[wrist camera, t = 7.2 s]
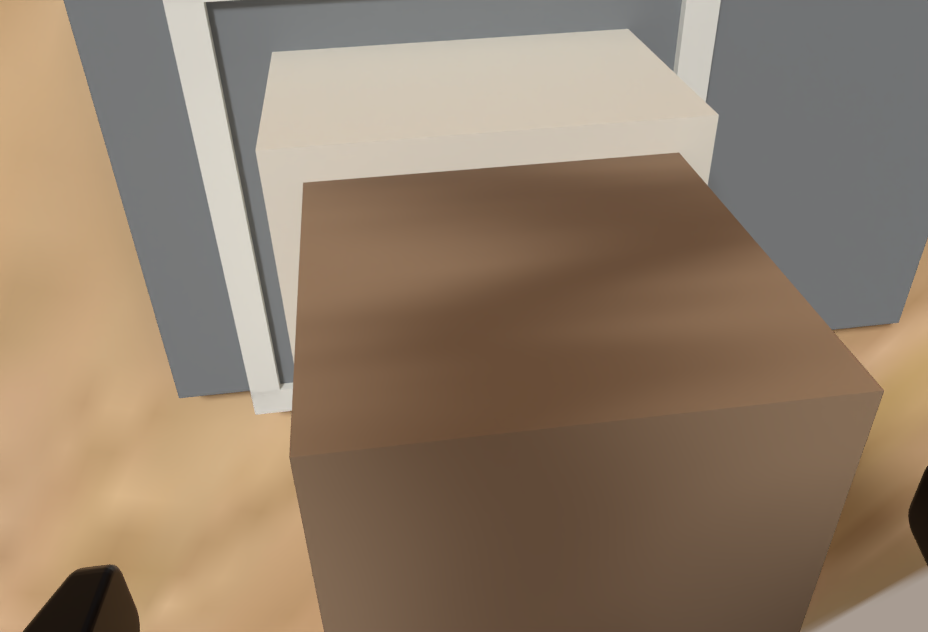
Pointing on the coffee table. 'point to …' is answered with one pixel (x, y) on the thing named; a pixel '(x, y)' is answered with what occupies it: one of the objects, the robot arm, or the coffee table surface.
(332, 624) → the walnut cube
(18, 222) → the coffee table surface
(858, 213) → the grey flat rectangular panel
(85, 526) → the coffee table surface
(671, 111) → the base block
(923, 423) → the coffee table surface
